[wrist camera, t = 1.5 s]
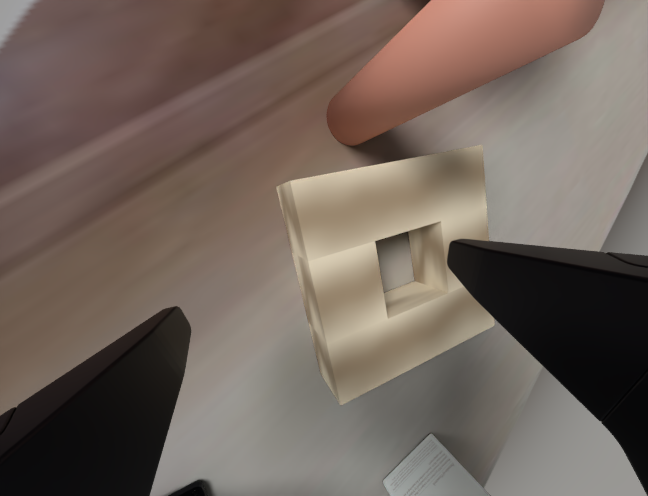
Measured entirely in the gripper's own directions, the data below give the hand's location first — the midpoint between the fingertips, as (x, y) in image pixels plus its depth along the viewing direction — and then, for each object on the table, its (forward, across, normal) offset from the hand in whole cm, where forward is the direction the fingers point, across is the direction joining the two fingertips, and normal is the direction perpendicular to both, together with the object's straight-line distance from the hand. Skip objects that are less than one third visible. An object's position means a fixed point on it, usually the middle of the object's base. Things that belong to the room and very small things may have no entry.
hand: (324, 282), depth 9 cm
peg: (+15, +6, +3) cm, 17 cm away
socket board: (+11, +7, -8) cm, 16 cm away
